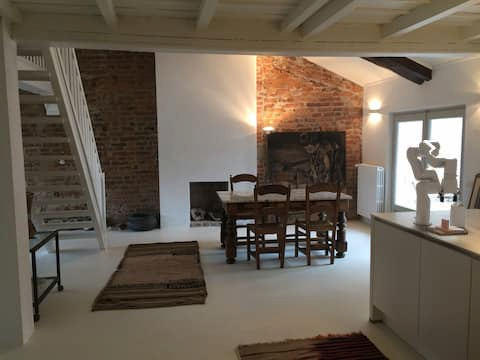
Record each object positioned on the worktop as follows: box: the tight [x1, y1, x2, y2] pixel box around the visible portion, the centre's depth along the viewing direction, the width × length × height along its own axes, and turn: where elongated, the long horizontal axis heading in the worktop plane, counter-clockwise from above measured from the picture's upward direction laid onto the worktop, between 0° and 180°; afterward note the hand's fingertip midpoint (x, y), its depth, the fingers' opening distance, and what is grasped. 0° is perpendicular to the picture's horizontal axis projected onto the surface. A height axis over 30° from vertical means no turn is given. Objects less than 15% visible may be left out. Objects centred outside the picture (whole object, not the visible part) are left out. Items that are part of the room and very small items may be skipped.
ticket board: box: [425, 225, 469, 236], centre depth 275 cm, size 16×20×3 cm
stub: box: [434, 218, 455, 232], centre depth 274 cm, size 12×6×7 cm, turn 10°
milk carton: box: [449, 199, 467, 228], centre depth 291 cm, size 7×7×19 cm
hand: (448, 202), depth 271 cm, fingers open, 9 cm apart
